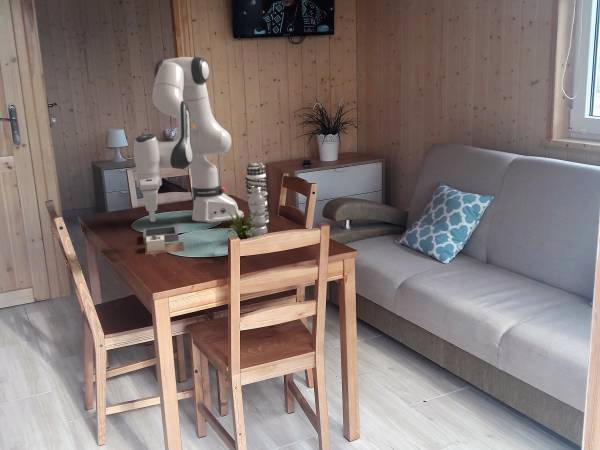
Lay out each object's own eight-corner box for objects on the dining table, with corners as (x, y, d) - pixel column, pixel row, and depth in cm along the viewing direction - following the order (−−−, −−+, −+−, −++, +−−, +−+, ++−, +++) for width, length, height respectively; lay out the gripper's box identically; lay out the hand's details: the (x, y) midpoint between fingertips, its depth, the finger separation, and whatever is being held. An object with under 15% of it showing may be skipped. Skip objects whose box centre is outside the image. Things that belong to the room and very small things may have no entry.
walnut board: (183, 244, 255) (181, 229, 253) (184, 253, 243) (183, 237, 242) (145, 248, 252) (143, 232, 250) (145, 257, 240) (143, 241, 239)
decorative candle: (267, 224, 278) (263, 164, 271) (245, 224, 279) (241, 165, 273) (272, 219, 286) (268, 161, 280) (251, 218, 288) (247, 161, 282)
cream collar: (164, 245, 250) (163, 235, 249) (165, 250, 244) (164, 239, 243) (147, 247, 249) (146, 236, 248) (147, 252, 243) (146, 241, 242)
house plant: (211, 256, 237) (208, 212, 233) (235, 246, 249) (232, 203, 245) (244, 261, 230) (241, 215, 226) (267, 250, 241) (264, 206, 237)
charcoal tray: (177, 234, 269) (176, 225, 268) (178, 242, 257) (178, 234, 256) (144, 237, 266) (143, 229, 265) (144, 246, 254) (143, 237, 253)
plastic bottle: (261, 241, 254) (258, 189, 249) (247, 239, 258) (243, 188, 253) (271, 236, 259) (268, 186, 254) (256, 234, 263) (253, 184, 258)
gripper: (140, 176, 249) (144, 212, 253) (139, 186, 230) (143, 225, 233) (157, 175, 251) (161, 211, 254) (158, 184, 231) (162, 223, 234)
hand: (152, 218), depth 243 cm, fingers open, 8 cm apart
